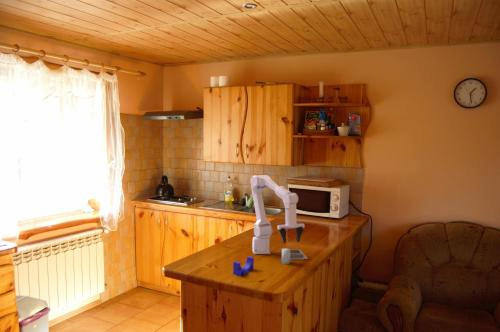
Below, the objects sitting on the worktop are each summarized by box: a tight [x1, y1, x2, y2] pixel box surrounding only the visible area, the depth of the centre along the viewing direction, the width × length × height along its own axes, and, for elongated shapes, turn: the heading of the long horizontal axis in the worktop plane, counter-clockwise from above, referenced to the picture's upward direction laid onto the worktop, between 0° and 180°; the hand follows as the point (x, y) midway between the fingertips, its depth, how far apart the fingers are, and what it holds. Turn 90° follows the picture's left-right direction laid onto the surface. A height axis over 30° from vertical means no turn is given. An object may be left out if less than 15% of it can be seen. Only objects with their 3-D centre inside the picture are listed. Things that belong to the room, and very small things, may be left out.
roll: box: [281, 248, 291, 265], centre depth 207 cm, size 4×4×7 cm
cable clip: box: [232, 256, 255, 277], centre depth 191 cm, size 12×4×6 cm, turn 142°
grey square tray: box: [280, 249, 309, 261], centre depth 218 cm, size 12×12×3 cm
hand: (291, 242), depth 206 cm, fingers open, 7 cm apart
